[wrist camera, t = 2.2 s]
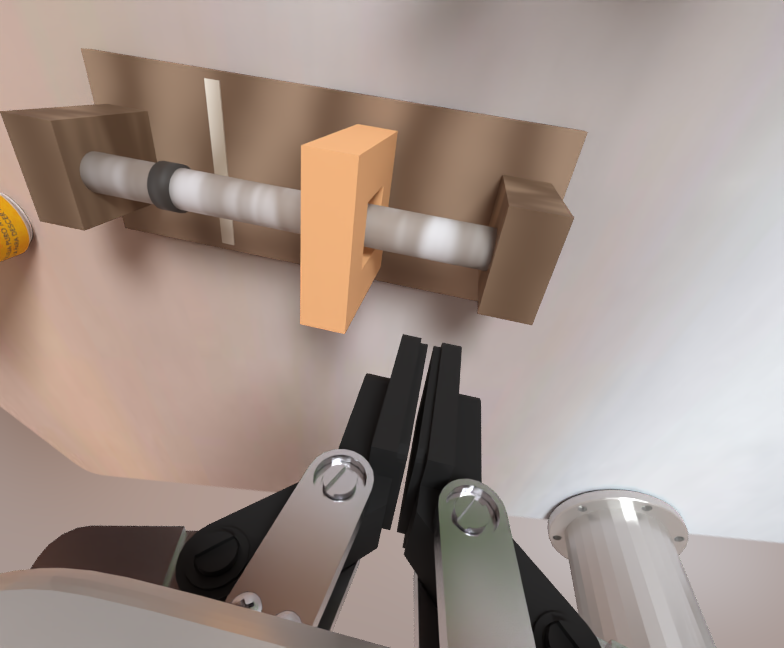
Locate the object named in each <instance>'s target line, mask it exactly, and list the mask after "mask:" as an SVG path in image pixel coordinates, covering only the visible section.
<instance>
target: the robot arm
mask: <svg viewBox="0 0 784 648" xmlns="http://www.w3.org/2000/svg"><path fill="white" fill-rule="evenodd" d="M427 347H428V345H427V344H422V343H421V338H418V337H414V336H409V335H404V334H403V336H402V339H401V343H400V346H399V350H398V353H397V357H396V360H395V364H394V367H393V371H392V374H391V378H386V377H381V376H377V375H372V374H368V373H367V374H366V376H365V378H364V381H363V383H362V386H361V389H360V392H359V394H358V397H357V400H356V403H355V405H354V408H353V411H352V413H351V416H350V419H349V422H348V424H347V427H346V430H345V433H344V435H343V438H342V441H341V443H340V446H339V449H334V450H331V451H327V452H324V453H323V454H321V455H320V456H318V457H316V459H315V460H314V461H313V462H312V463H311V464H310V466H309V467H308V469H307V470H306V472H305V474H304V475H303V477H302V478H301V480H300V482H298V483H296V484H294V485H292V486H290V487H287V488H285V489H283V490H281V491H279V492H277V493H275V494H273V495H270V496H269V497H266V498H264V499H262V500H260V501H258V502H256V503H253V504H251V505H249V506H247V507H245V508H243V509H241V510H239V511H237V512H235V513H232V514H230V515H228V516H226V517H224V518H222V519H220V520H218V521H215V522H213V523H211V524H209V525H207V526H206V527H204V528H202V529H201V530H199V531H185V527H184V526H85V527H79V528H76V529H73V530H71V531H69V532H67V533H64V534H62V535H61V536H60V537H58V538H57V539H55V540H54V541H53V542H52V543H50V544H49V545H48V546H47V547H46V548H45V549H44V551H43V552H42V553H41V554H40V555H39V557H38V558H37V560H36V561H35V562H34V564H33V565H32V567H31V569H28V570H18V571H11V572H6V573H0V648H389V647H385V646H382V645H378V644H375V643H371V642H367V641H364V640H360V639H357V638H353V637H349V636H345V635H342V634H339V633H335V632H332V631H333V629H334V626H335V624H336V621H337V619H338V616H339V613H340V611H341V609H342V606H343V603H344V601H345V598H346V596H347V593H348V591H349V588H350V585H351V583H352V581H353V578H354V576H355V573H356V571H357V568H358V565H359V562H360V559H361V558H362V557H364V556H365V555H367V554H369V553H370V552H372V551H373V550H375V549H376V548H377V547H378V542H379V538H380V533H381V528H383V529H388V530H390V528H391V524H392V520H393V516H394V512H395V507H396V503H397V499H398V495H399V490H400V486H401V482H402V478H403V474H404V469H405V465H406V461H407V456H408V451H409V446H410V441H411V435H412V430H413V424H414V419H415V413H416V408H417V402H418V397H419V391H420V386H421V380H422V375H423V369H424V364H425V358H426V353H427ZM461 350H462V347H461V346H456V345H451V344H446V343H442V345H441V347H436V346H434V347H433V352H432V356H431V360H430V364H429V368H428V373H427V377H426V381H425V385H424V390H423V394H422V398H421V402H420V406H419V411H418V415H417V420H416V425H415V431H414V437H413V442H412V448H411V454H410V459H409V465H408V471H407V477H406V482H405V488H404V494H403V499H402V505H401V511H400V517H399V522H398V528H397V532H399V533H403V534H405V537H404V543H403V548H405V552H404V555H405V557H406V559H407V560H408V562H409V563H410V565H411V566H412V567H413V569H414V648H716V646H715V643H714V641H713V638H712V636H711V634H710V631H709V629H708V626H707V624H706V621H705V619H704V616H703V614H702V612H701V609H700V607H699V604H698V602H697V599H696V597H695V595H694V592H693V590H692V587H691V585H690V582H689V580H688V578H687V575H686V573H685V570H684V568H683V565H682V563H681V560H680V558H679V555H680V554H681V552H682V551H683V550H684V549H685V547H686V545H687V542H688V531H687V528H686V525H685V523H684V521H683V519H682V517H681V516H680V514H679V513H678V512H677V511H676V510H675V509H674V508H673V507H672V506H670V505H669V504H667V503H666V502H664V501H662V500H660V499H658V498H655V497H653V496H650V495H646V494H643V493H639V492H633V491H626V490H601V491H593V492H588V493H584V494H581V495H578V496H575V497H572V498H571V499H569V500H567V501H565V502H563V503H562V504H561V505H559V506H558V507H557V508H556V509H555V510H554V511H553V512H552V514H551V515H550V518H549V520H548V534H549V539H550V541H551V543H552V545H553V546H554V548H555V549H556V550H557V551H558V552H559V553H560V554H561V555H562V556H564V557H565V558H567V559H569V563H570V569H571V575H572V580H573V586H574V591H575V597H576V602H577V608H578V613H577V612H576V611H575V610H574V609H573V607H572V606H571V605H570V604H569V603H568V602H567V600H566V599H565V598H564V597H563V596H562V595H561V594H560V592H559V591H558V590H557V589H556V588H555V587H554V586H553V584H552V583H551V582H550V581H549V580H548V579H547V578H546V576H545V575H544V574H543V573H542V572H541V571H540V570H539V568H538V567H537V566H536V565H535V564H534V563H533V562H532V560H531V559H530V558H529V557H528V556H527V555H526V553H525V552H524V551H523V550H522V549H521V548H520V546H519V545H518V544H517V543H516V542H515V541H514V540H513V538H512V535H511V530H510V526H509V521H508V516H507V512H506V510H505V507H504V504H503V502H502V501H501V499H500V498H499V497H498V495H497V494H496V493H495V492H494V491H493V490H492V489H491V488H489V487H488V486H487V485H485V484H483V483H482V481H481V400H480V398H476V397H471V396H467V395H462V394H459V384H460V367H461Z"/></svg>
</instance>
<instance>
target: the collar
mask: <svg viewBox="0 0 784 648" xmlns="http://www.w3.org/2000/svg"><path fill="white" fill-rule="evenodd" d="M397 134H398V131H395V130H390V129H384V128H378V127H372V126H367V125H361V124H356V125H354V126H351V127H348V128H346V129H343V130H340V131H338V132H335V133H332V134H330V135H327V136H324V137H322V138H319V139H316V140H314V141H311V142H308V143H306V144H303V145H301V264H300V324H302V325H306V326H311V327H315V328H320V329H324V330H329V331H333V332H338V333H342V334H345V333H346V331H347V329H348V327H349V325H350V323H351V321H352V320H353V318H354V316H355V314H356V312H357V310H358V308H359V307H360V305H361V303H362V301H363V299H364V297H365V295H366V293H367V292H368V290H369V288H370V286H371V284H372V282H373V280H374V279H375V277H376V275H377V273H378V271H379V269H380V267H381V261H382V253H383V250H378V249H373V248H368V247H364V239H365V228H366V218H367V208H368V203H369V204H374V205H379V206H385V207H388V206H389V198H390V190H391V182H392V174H393V166H394V158H395V150H396V142H397Z"/></svg>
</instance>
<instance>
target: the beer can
mask: <svg viewBox="0 0 784 648" xmlns="http://www.w3.org/2000/svg"><path fill="white" fill-rule="evenodd" d="M32 236H33V232H32V227H31V224H30V221H29V219H28V218H27V216H26V214H25V213H24V211H23V210H22V209H21V208H20V207H19V206H18V204H17V203H15V202H14V201H13V200H12V199H11V198H9V197H8V196H6V195H5V194H3V193H1V192H0V262H1V261H3V260H6V259H9V258H11V257H14V256H16V255H19V254H22V253H24V252H25V251H26V250H27V249H28V247H29V243H30V241H31V240H32Z"/></svg>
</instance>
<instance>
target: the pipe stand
mask: <svg viewBox="0 0 784 648" xmlns="http://www.w3.org/2000/svg"><path fill="white" fill-rule="evenodd" d="M81 51H82V55H83V59H84V63H85V67H86V71H87V75H88V79H89V83H90V87H91V91H92V95H93V100H94V104H95V105H83V106H69V107H55V108H41V109H26V110H12V111H0V113H1V116H2V118H3V121H4V124H5V127H6V129H7V132H8V135H9V137H10V140H11V143H12V146H13V148H14V151H15V154H16V157H17V159H18V162H19V165H20V167H21V170H22V173H23V176H24V178H25V181H26V184H27V187H28V189H29V192H30V195H31V197H32V200H33V203H34V206H35V208H36V211H37V214H38V217H39V219H40V221H42V222H47V223H51V224H56V225H61V226H66V227H70V228H75V229H80V230H87V229H90V228H92V227H95V226H97V225H100V224H103V223H105V222H108V221H110V220H113V219H116V218H118V217H121V216H123V220H124V225H125V228H129V229H133V230H138V231H143V232H148V233H153V234H157V235H162V236H167V237H172V238H177V239H181V240H186V241H191V242H196V243H201V244H205V245H210V246H215V247H220V248H225V249H229V250H234V251H239V252H244V253H248V254H253V255H258V256H263V257H268V258H272V259H277V260H282V261H287V262H292V263H296V264H301V145H303V144H306V143H308V142H311V141H314V140H316V139H319V138H322V137H324V136H327V135H330V134H332V133H335V132H338V131H340V130H343V129H346V128H348V127H351V126H354V125H356V124H361V125H367V126H372V127H378V128H384V129H390V130H395V131H398V134H397V142H396V150H395V158H394V166H393V174H392V182H391V190H390V198H389V206H388V207H385V206H379V205H374V204H369V203H368V208H367V218H366V228H365V239H364V247H368V248H373V249H378V250H383V253H382V261H381V267H380V269H379V271H378V273H377V275H376V277H375V279H374V280H378V281H383V282H387V283H392V284H397V285H402V286H407V287H411V288H416V289H421V290H426V291H430V292H435V293H440V294H445V295H450V296H454V297H459V298H464V299H469V300H474V301H478V310H477V314H481V315H486V316H491V317H496V318H500V319H505V320H510V321H514V322H519V323H524V324H529V325H532V324H533V322H534V319H535V316H536V314H537V311H538V309H539V306H540V304H541V301H542V299H543V296H544V294H545V291H546V288H547V286H548V283H549V281H550V278H551V276H552V273H553V271H554V268H555V265H556V263H557V260H558V258H559V255H560V253H561V250H562V248H563V245H564V243H565V240H566V237H567V235H568V232H569V230H570V227H571V225H572V222H573V220H574V217H573V215H572V214H571V212H570V211H569V209H568V208H567V206H566V205H565V203H564V202H563V198H564V196H565V193H566V190H567V187H568V185H569V182H570V179H571V176H572V174H573V171H574V168H575V166H576V163H577V160H578V157H579V155H580V152H581V149H582V146H583V144H584V141H585V138H586V136H587V133H588V132H586V131H582V130H576V129H570V128H564V127H558V126H552V125H546V124H540V123H534V122H528V121H522V120H516V119H510V118H503V117H497V116H491V115H485V114H479V113H473V112H467V111H461V110H455V109H449V108H443V107H437V106H431V105H425V104H419V103H413V102H407V101H401V100H395V99H389V98H383V97H377V96H371V95H365V94H359V93H353V92H347V91H341V90H335V89H329V88H322V87H316V86H310V85H304V84H298V83H292V82H286V81H280V80H274V79H268V78H262V77H256V76H250V75H244V74H238V73H232V72H226V71H220V70H214V69H208V68H202V67H196V66H190V65H184V64H178V63H172V62H166V61H160V60H154V59H147V58H141V57H135V56H129V55H123V54H117V53H111V52H105V51H99V50H93V49H82V48H81Z"/></svg>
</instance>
